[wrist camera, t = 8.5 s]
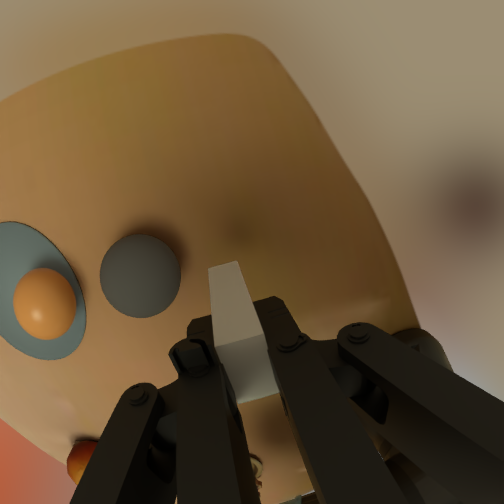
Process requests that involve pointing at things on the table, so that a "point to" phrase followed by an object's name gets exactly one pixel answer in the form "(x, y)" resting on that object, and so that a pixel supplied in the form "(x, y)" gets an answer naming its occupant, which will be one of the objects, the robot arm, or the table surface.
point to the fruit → (79, 459)
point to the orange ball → (44, 303)
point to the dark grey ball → (140, 276)
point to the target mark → (13, 269)
